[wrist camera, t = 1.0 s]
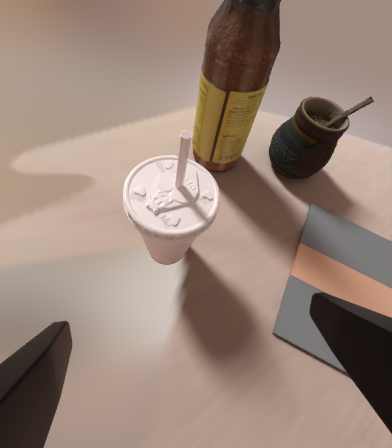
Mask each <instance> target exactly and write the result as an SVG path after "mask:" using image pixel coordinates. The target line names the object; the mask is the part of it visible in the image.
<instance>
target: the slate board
mask: <svg viewBox="0 0 392 448" xmlns="http://www.w3.org/2000/svg"><path fill="white" fill-rule="evenodd" d="M320 292H324V293H327V294H330V295H333V296H335V297H338V298H341V299H343V300H346V301H348V302H351V303H354V304H356V305H359V306H362V307H364V308H367V309H370V310H372V311H375V312H378V313H380V314H383V315H386V316H388V317H391V318H392V242H391V241H389V240H387V239H385V238H383V237H381V236H379V235H377V234H375V233H373V232H371V231H369V230H367V229H364V228H362V227H360V226H358V225H356V224H354V223H352V222H350V221H348V220H346V219H344V218H342V217H340V216H338V215H335V214H333V213H331V212H329V211H327V210H325V209H323V208H321V207H319V206H317V205H315V204H313V203H312V204H311V205H310V208H309V211H308V214H307V218H306V221H305V224H304V228H303V231H302V235H301V238H300V241H299V245H298V248H297V252H296V255H295V258H294V262H293V265H292V268H291V272H290V275H289V279H288V282H287V285H286V289H285V292H284V296H283V299H282V302H281V306H280V309H279V312H278V316H277V319H276V323H275V326H274V329H273V334H275V335H277V336H279V337H280V338H282V339H284V340H286V341H288V342H290V343H291V344H293V345H295V346H297V347H299V348H301V349H302V350H304V351H306V352H308V353H310V354H312V355H313V356H315V357H317V358H319V359H321V360H323V361H325V362H326V363H328V364H330V365H332V366H334V367H336V368H337V369H339V370H341V371H343V372H345V373H347V372H346V371H345V369H344V368H343V367H342V365H341V364H340V362H339V361H338V360H337V358H336V357H335V355H334V354H333V353H332V351H331V349H330V348H329V346H328V345H327V343H326V341H325V340H324V338H323V336H322V335H321V333H320V331H319V330H318V328H317V327H316V325H315V323H314V322H313V320H312V318H311V316H310V313H309V309H310V304H311V299H312V295H313V294H314V293H320ZM347 374H348V373H347Z"/></svg>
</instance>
